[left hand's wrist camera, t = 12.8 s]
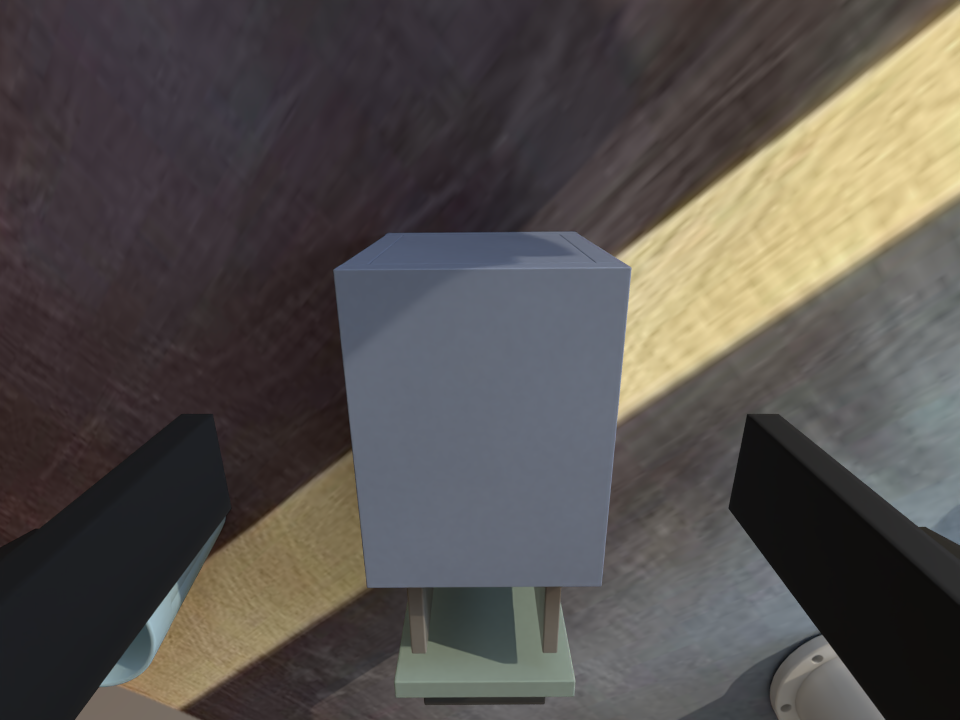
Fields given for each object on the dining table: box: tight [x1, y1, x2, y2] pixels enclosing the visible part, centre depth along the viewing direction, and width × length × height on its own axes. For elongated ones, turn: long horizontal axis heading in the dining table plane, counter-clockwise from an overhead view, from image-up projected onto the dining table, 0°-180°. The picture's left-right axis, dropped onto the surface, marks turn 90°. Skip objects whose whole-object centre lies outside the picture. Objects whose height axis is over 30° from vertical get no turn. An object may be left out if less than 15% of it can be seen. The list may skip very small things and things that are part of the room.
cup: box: [99, 516, 226, 687], centre depth 31 cm, size 8×8×10 cm
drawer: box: [394, 587, 575, 705], centre depth 31 cm, size 19×10×10 cm, turn 0°
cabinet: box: [333, 232, 631, 588], centre depth 27 cm, size 15×11×12 cm
